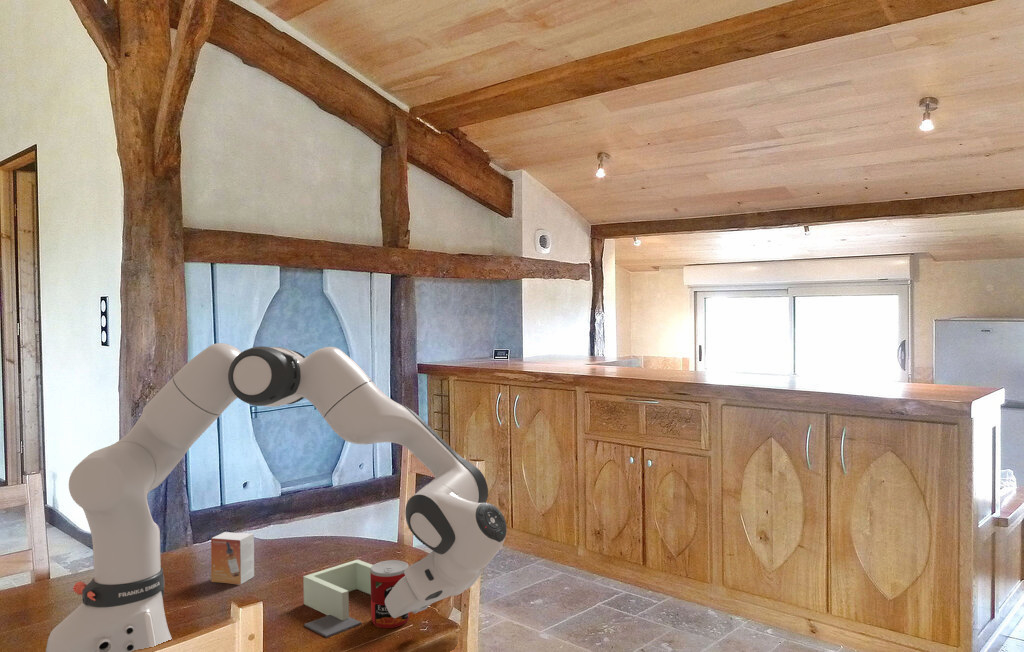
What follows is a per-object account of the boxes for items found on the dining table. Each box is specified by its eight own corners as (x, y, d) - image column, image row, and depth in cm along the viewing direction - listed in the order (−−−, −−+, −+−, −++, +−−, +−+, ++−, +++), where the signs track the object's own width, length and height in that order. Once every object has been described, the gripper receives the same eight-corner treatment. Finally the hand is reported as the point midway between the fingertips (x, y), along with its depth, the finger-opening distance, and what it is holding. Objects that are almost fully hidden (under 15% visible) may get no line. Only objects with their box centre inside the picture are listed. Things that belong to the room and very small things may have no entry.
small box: (210, 582, 169) (209, 538, 169) (225, 574, 175) (224, 531, 174) (241, 585, 167) (240, 540, 167) (255, 576, 173) (254, 532, 173)
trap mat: (326, 637, 139) (326, 635, 139) (304, 626, 144) (304, 624, 144) (361, 624, 145) (361, 622, 145) (338, 613, 150) (338, 611, 150)
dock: (342, 622, 146) (342, 592, 146) (303, 604, 156) (303, 576, 155) (397, 601, 156) (397, 573, 156) (358, 585, 166) (357, 559, 166)
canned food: (373, 631, 142) (371, 575, 141) (369, 615, 149) (368, 562, 149) (412, 625, 144) (411, 570, 143) (407, 610, 151) (406, 558, 151)
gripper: (481, 541, 143) (448, 579, 150) (399, 569, 128) (367, 609, 135) (498, 569, 140) (464, 606, 147) (416, 600, 125) (382, 640, 132)
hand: (417, 608), depth 141 cm, fingers closed
